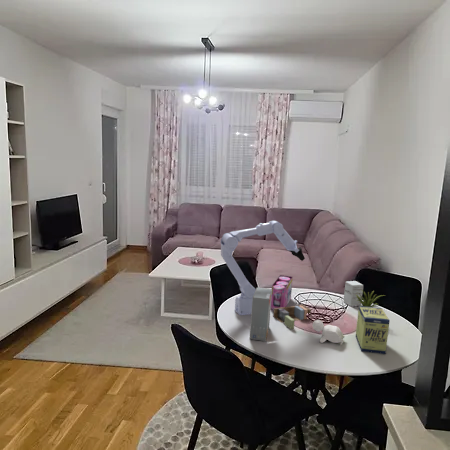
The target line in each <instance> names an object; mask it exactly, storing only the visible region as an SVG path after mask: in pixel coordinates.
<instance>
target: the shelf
mask: <svg viewBox="0 0 450 450" xmlns="http://www.w3.org/2000/svg"><path fill="white" fill-rule="evenodd" d="M300 305H302V306H303V307H305V308H306V309H308V314H309V313H311V311H312V309H311V308H309V307H308V306H306V305H304V304H303V303H300V304H299V305H297V306H300ZM295 306H296V305H293V306H292V305H291V306H286V307H281V308H274V309H273V315H272V316H273V317H274V319H276V320H277V321H278V322H280V323H281V324H283V323H284V322H283V321H282V320H280V319H279V318H278V309H282V308H283V309H285V310H286V311H288V312H289V316H290V317H291V318H292V319H294V320H295V321H296V322H298V321H304V320H307V319H302V320H300V319H299V318H297V317H296V316H294V310H295ZM311 314H312V313H311Z"/></svg>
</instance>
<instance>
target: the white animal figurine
mask: <svg viewBox="0 0 450 450" xmlns="http://www.w3.org/2000/svg"><path fill="white" fill-rule="evenodd" d="M312 328H313V330H314V331H316V332H318V333H320V332H321V336H322V337H321V338H320V339H319V343H321V344H324V343H325V342H326V341H327V340H328V341H329V342H330V343H334V344H335V343H337V344H340V346H342V345H343V343H344V341H345V340H344V339H345V336H346V335H345V334H343V331H342V330H341V329H340V327H339V326H336V325H331V324H326V325H324V323H323V321H322V320H320V319H315V320H314V321H313V322H312Z"/></svg>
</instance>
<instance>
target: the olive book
mask: <svg viewBox="0 0 450 450" xmlns="http://www.w3.org/2000/svg"><path fill="white" fill-rule="evenodd" d="M283 323H284V325H285V326H286V327H287V328H288V329H290V330H294V328H295V320H294V319H292V318H291V317H290V316H288V315H287V316H285V322H283Z"/></svg>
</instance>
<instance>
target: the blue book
mask: <svg viewBox="0 0 450 450" xmlns="http://www.w3.org/2000/svg"><path fill="white" fill-rule="evenodd" d="M294 306H295V310H294V316H296V317H297V318H299V319H300V320H299V321H303V320H302V319H303V318H304V310H303V309H302V308H300V307H299V306H298V305H294Z"/></svg>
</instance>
